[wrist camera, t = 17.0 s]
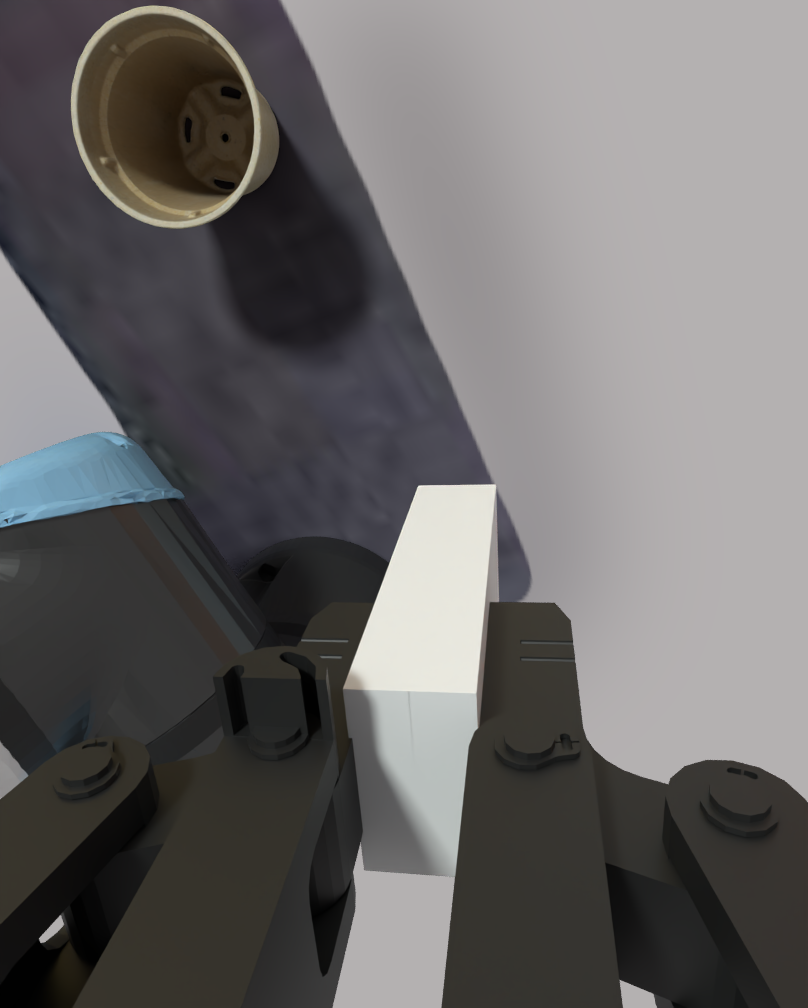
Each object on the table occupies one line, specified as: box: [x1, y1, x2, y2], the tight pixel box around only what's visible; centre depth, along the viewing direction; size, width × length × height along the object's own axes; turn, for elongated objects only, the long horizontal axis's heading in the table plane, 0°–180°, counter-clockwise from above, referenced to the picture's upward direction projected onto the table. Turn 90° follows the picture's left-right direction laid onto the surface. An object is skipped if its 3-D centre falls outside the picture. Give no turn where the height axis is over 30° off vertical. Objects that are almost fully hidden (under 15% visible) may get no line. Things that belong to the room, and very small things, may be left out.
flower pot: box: [71, 6, 279, 229], centre depth 39 cm, size 9×9×9 cm
